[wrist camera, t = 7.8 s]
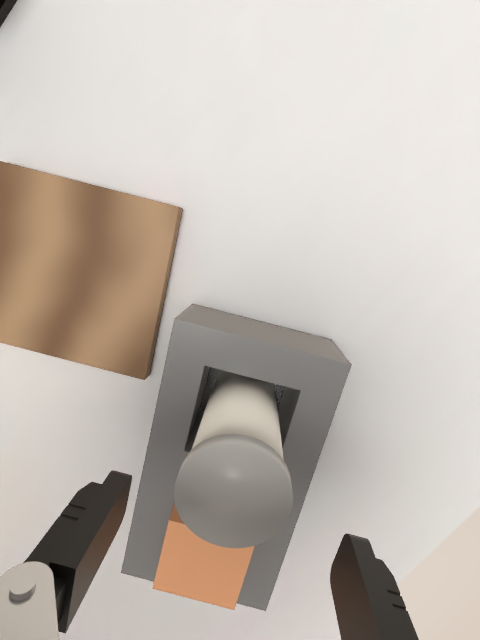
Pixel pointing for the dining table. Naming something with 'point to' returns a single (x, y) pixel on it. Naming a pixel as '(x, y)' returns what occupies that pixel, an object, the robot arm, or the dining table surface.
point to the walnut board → (83, 270)
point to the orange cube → (200, 566)
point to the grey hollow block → (184, 416)
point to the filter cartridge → (236, 467)
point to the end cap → (5, 9)
